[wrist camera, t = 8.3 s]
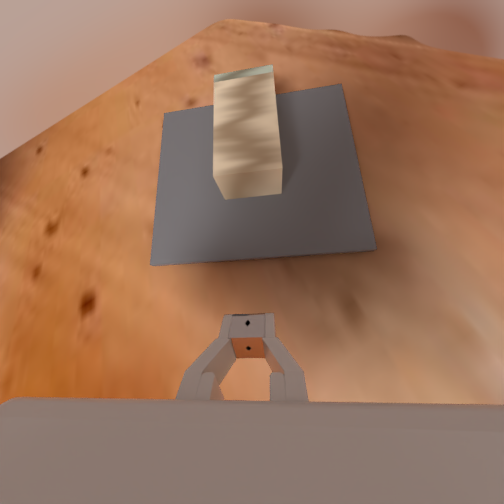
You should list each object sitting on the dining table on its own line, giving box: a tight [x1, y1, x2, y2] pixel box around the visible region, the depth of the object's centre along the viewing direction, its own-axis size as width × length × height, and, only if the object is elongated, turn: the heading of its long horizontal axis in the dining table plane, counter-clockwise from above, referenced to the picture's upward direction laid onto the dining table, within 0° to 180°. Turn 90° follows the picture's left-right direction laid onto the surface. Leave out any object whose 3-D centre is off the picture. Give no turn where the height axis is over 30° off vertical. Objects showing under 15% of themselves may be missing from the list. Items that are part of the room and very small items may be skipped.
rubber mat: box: [150, 84, 377, 266], centre depth 21 cm, size 22×20×1 cm
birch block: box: [213, 64, 283, 200], centre depth 20 cm, size 6×4×12 cm
